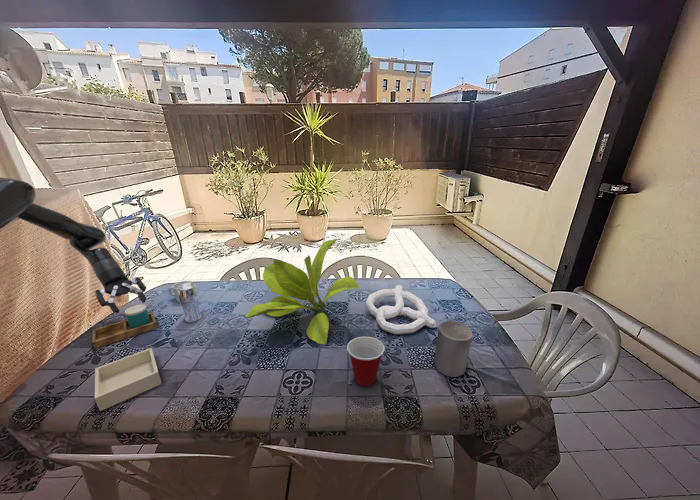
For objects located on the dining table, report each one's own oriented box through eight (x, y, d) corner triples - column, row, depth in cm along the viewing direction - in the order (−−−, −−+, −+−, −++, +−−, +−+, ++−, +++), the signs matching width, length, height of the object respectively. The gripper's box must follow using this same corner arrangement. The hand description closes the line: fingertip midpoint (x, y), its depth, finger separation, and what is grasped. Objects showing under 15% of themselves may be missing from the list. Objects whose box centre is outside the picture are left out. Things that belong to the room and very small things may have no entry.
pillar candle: (435, 352, 92) (440, 314, 87) (466, 360, 89) (473, 321, 84) (431, 372, 84) (437, 331, 79) (465, 381, 80) (473, 340, 75)
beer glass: (207, 316, 112) (200, 284, 107) (191, 325, 106) (183, 291, 101) (195, 312, 114) (188, 280, 109) (179, 321, 108) (171, 288, 103)
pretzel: (442, 330, 106) (445, 317, 103) (389, 347, 98) (391, 334, 95) (403, 290, 129) (405, 279, 126) (358, 301, 121) (359, 289, 118)
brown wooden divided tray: (95, 350, 92) (92, 342, 91) (95, 337, 99) (92, 329, 98) (158, 329, 104) (156, 322, 102) (154, 318, 110) (152, 311, 109)
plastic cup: (378, 363, 87) (379, 332, 83) (387, 391, 77) (389, 357, 73) (344, 367, 86) (344, 335, 81) (349, 395, 75) (349, 361, 71)
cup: (165, 304, 121) (161, 288, 118) (176, 295, 128) (173, 280, 125) (189, 305, 120) (185, 288, 118) (199, 296, 128) (196, 280, 125)
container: (131, 334, 99) (125, 315, 97) (129, 326, 104) (123, 308, 101) (152, 327, 103) (147, 309, 101) (150, 320, 108) (145, 302, 105)
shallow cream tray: (100, 412, 70) (94, 398, 69) (100, 381, 80) (94, 368, 78) (162, 384, 79) (158, 371, 77) (155, 359, 88) (151, 347, 87)
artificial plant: (276, 306, 131) (231, 268, 113) (347, 254, 132) (315, 208, 114) (294, 381, 98) (235, 345, 80) (390, 310, 99) (353, 259, 81)
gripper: (86, 274, 96) (109, 311, 94) (132, 261, 108) (154, 294, 106) (85, 284, 100) (107, 320, 99) (129, 271, 112) (150, 302, 110)
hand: (131, 306), depth 102 cm, fingers open, 8 cm apart
